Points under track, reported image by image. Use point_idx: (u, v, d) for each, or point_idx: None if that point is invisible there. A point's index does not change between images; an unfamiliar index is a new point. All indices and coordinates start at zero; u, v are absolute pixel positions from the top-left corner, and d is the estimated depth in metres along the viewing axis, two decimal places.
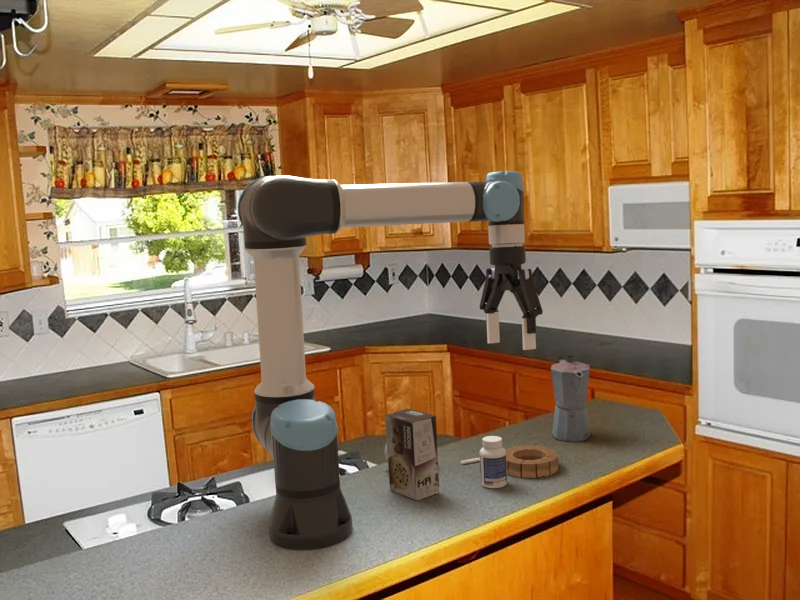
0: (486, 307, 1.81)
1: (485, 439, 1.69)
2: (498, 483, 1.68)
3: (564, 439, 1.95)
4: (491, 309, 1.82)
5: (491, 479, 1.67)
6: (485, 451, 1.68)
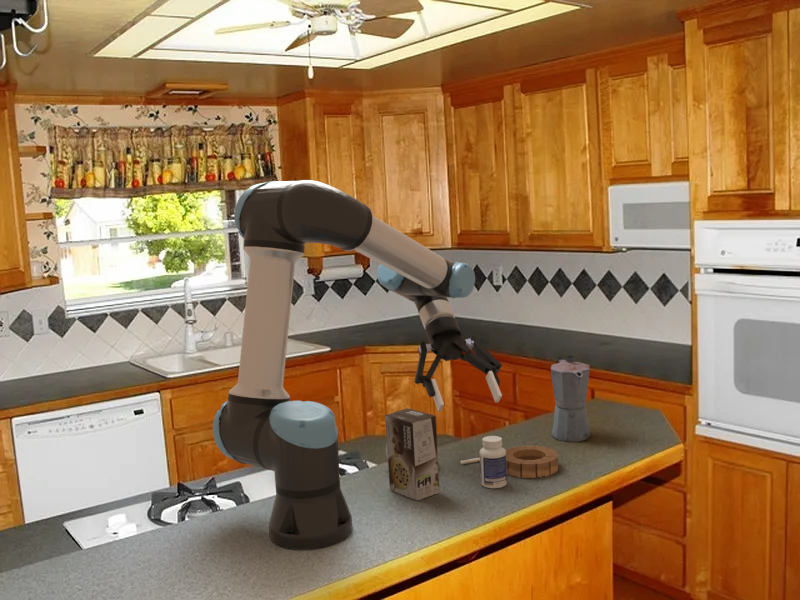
0: (429, 374, 1.79)
1: (485, 439, 1.69)
2: (498, 483, 1.68)
3: (564, 439, 1.95)
4: None
5: (491, 479, 1.67)
6: (485, 451, 1.68)
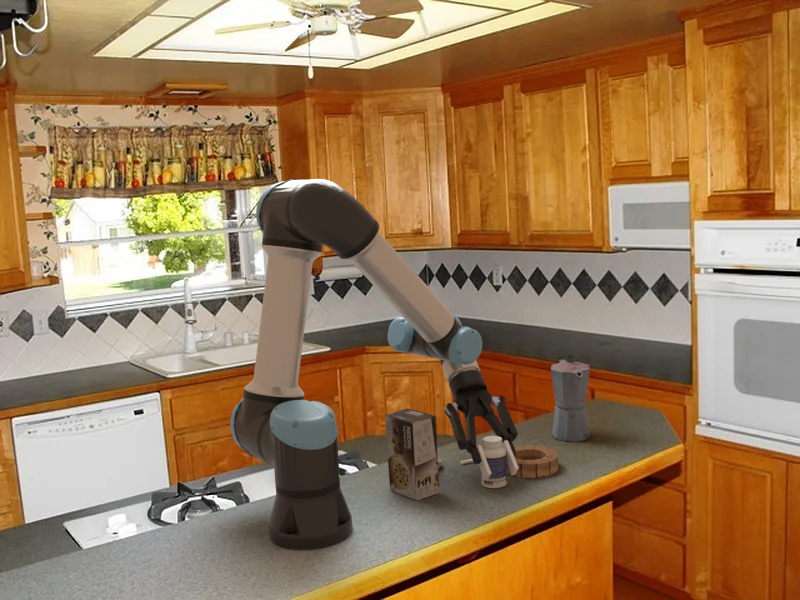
0: (473, 439, 1.69)
1: (485, 439, 1.69)
2: (498, 483, 1.68)
3: (564, 439, 1.95)
4: None
5: (491, 479, 1.67)
6: (486, 451, 1.68)
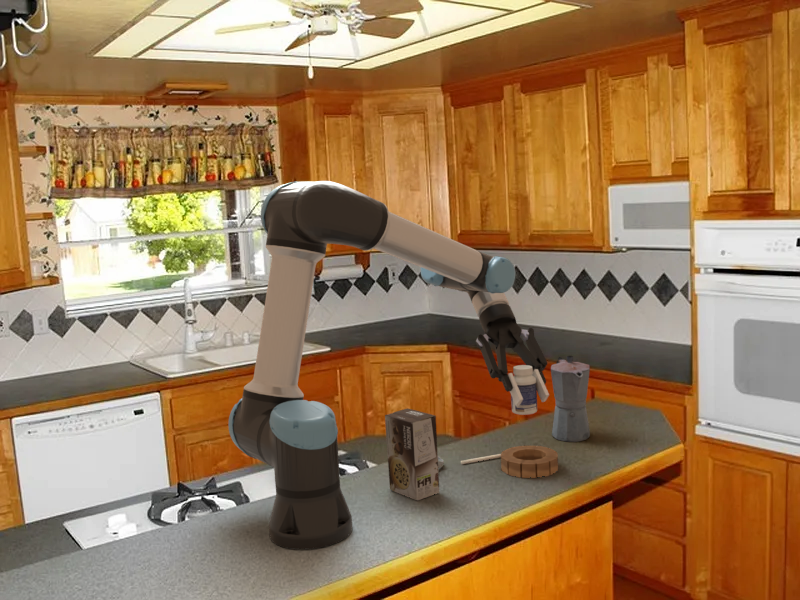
0: (504, 367, 1.74)
1: (516, 367, 1.74)
2: (529, 410, 1.73)
3: (564, 439, 1.95)
4: None
5: (523, 405, 1.73)
6: (517, 379, 1.73)
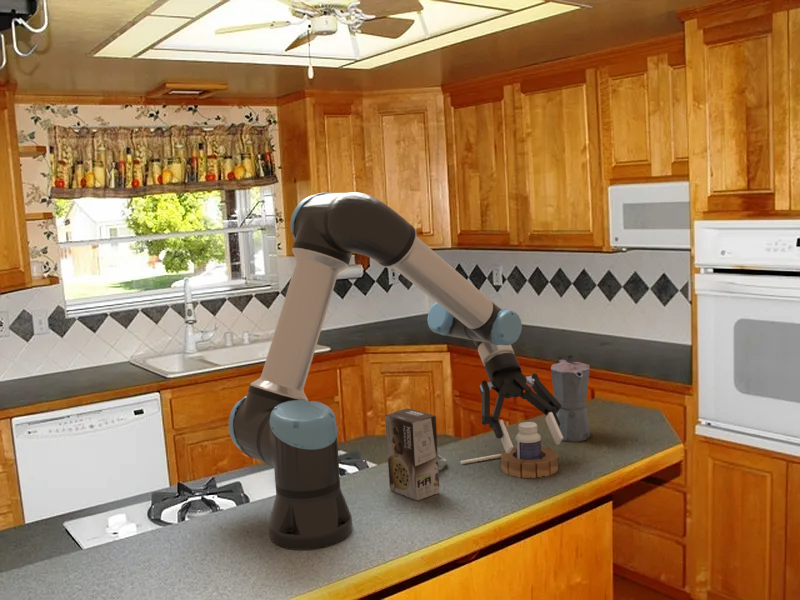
0: (496, 415, 1.77)
1: (521, 425, 1.77)
2: None
3: (564, 439, 1.95)
4: None
5: None
6: (521, 436, 1.76)
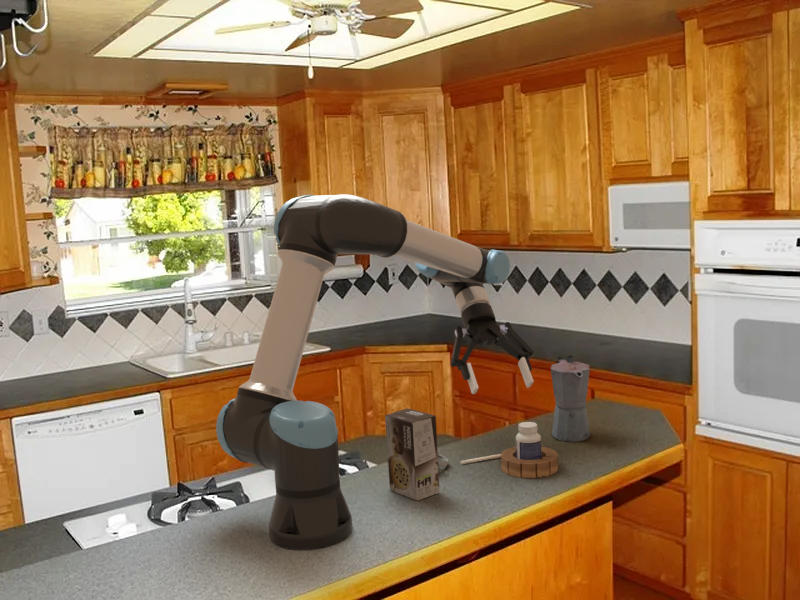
0: (465, 358, 1.86)
1: (521, 425, 1.77)
2: None
3: (564, 439, 1.95)
4: None
5: None
6: (522, 436, 1.76)
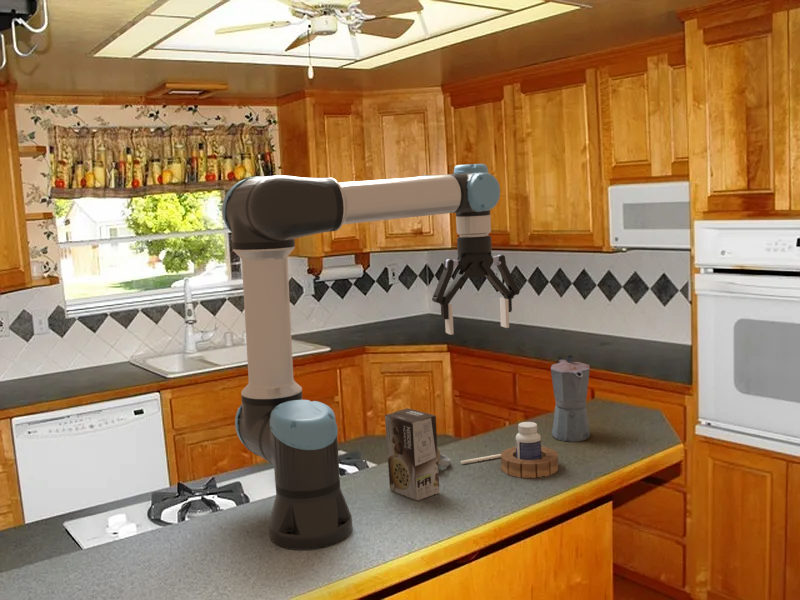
0: (448, 299, 1.80)
1: (521, 425, 1.77)
2: None
3: (564, 439, 1.95)
4: None
5: None
6: (521, 436, 1.76)
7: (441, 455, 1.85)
